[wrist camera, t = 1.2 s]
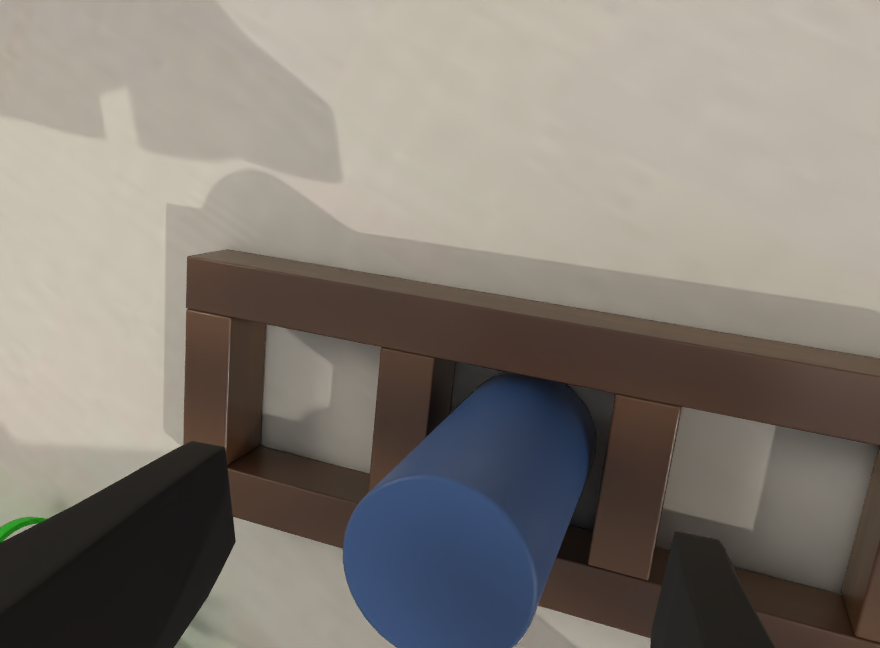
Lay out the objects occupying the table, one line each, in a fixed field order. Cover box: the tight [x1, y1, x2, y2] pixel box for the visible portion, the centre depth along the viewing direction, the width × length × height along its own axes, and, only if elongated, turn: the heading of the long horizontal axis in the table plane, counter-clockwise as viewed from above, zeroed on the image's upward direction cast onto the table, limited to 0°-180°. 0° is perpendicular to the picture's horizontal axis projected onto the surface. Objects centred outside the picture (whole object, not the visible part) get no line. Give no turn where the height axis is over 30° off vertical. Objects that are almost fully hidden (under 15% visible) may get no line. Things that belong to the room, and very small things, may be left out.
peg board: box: [183, 250, 880, 648], centre depth 21 cm, size 8×21×2 cm, turn 84°
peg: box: [343, 372, 596, 648], centre depth 18 cm, size 4×4×8 cm
